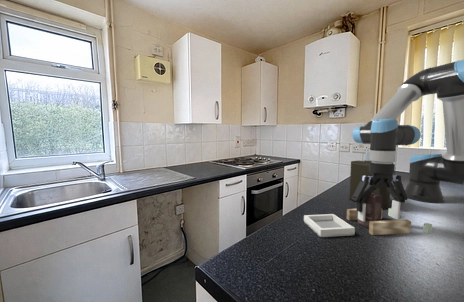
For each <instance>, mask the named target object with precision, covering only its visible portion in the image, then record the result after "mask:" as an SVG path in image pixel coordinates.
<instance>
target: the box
mask: <svg viewBox="0 0 464 302" xmlns="http://www.w3.org/2000/svg"><path fill="white" fill-rule="evenodd" d="M364 203H365V204H366V212H365V222H363V221H361V220H359V219H358V220H357V224H359V225H362V226H364V227H365V228H368V229H369V221H382V219H381V206H382V195H378V194H374V193H371V195H369V197H368V198H367V199H366V201H365V202H364Z"/></svg>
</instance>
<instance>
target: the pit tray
mask: <svg viewBox="0 0 464 302" xmlns="http://www.w3.org/2000/svg"><path fill="white" fill-rule="evenodd" d="M303 222H304V223H305V224H306V225H307V226H308V227H309V228H310V229H311V230H312V231H313V232H314V233H315V234H317V236H318V237H320V238H328V237H329V238H331V237H332V238H333V237H346V236H355V235H356V234H355V232H356V227H354V226H353V225H351V224H349V223H347V222H346V221H345V220H343V219H342V218H340V217H338V216H337V215H336V214H334V213H328V214H327V213H326V214H308V215H307V214H304V215H303Z"/></svg>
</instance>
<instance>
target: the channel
mask: <svg viewBox="0 0 464 302" xmlns="http://www.w3.org/2000/svg"><path fill="white" fill-rule="evenodd" d="M383 210H384V209H382V208H381V221H369V228H368V233H369V234H370V235H371V236H379V235H381V236H382V235H396V234H397V235H398V234H410V233H411V232H412V231H411V229H412V220H409V219H400V220H397V219H391V220H382V219H383V212H384V211H383ZM346 220H348V221H358V211H357V208H347V209H346Z"/></svg>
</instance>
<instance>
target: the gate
mask: <svg viewBox="0 0 464 302" xmlns="http://www.w3.org/2000/svg"><path fill="white" fill-rule="evenodd" d="M391 211H392V207H388V213H387V214H388V216H389V217H391ZM422 231H423V232H424V233H425V234H432V233H433V224H432V223H429V222H424V223H423V229H422Z"/></svg>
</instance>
